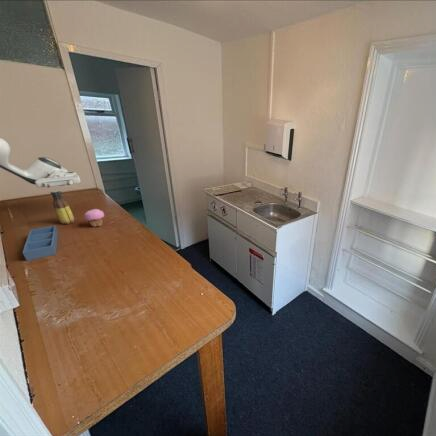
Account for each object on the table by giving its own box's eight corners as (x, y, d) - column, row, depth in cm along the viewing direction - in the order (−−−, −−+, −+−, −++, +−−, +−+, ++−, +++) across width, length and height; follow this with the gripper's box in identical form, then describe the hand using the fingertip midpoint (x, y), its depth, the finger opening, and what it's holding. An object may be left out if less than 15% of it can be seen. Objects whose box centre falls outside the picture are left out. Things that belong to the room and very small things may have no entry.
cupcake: (107, 221, 142) (102, 206, 138) (106, 226, 135) (101, 211, 131) (88, 224, 137) (83, 208, 133) (86, 230, 130) (81, 213, 126)
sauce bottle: (72, 219, 142) (60, 188, 134) (77, 222, 139) (66, 190, 131) (58, 223, 136) (45, 191, 128) (63, 226, 134) (51, 193, 126)
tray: (26, 260, 102) (22, 252, 100) (33, 237, 120) (30, 229, 118) (56, 254, 107) (52, 245, 106) (58, 232, 126) (55, 225, 124)
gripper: (34, 175, 141) (31, 182, 131) (78, 171, 152) (78, 177, 143) (39, 185, 143) (36, 192, 134) (82, 181, 155) (82, 187, 146)
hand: (58, 185), depth 139 cm, fingers open, 8 cm apart
